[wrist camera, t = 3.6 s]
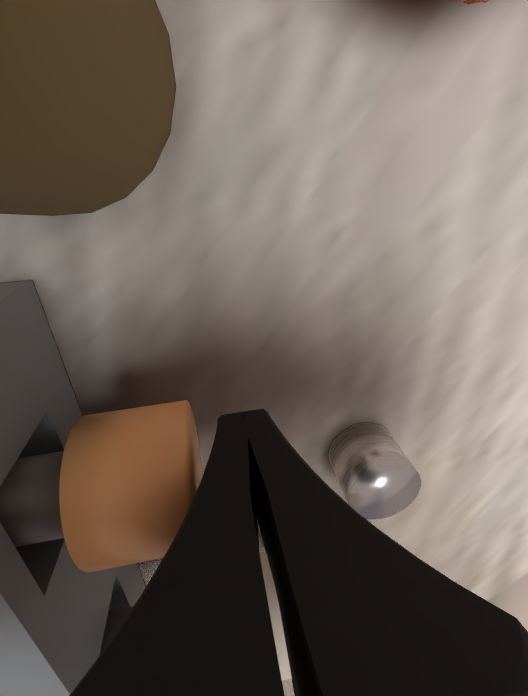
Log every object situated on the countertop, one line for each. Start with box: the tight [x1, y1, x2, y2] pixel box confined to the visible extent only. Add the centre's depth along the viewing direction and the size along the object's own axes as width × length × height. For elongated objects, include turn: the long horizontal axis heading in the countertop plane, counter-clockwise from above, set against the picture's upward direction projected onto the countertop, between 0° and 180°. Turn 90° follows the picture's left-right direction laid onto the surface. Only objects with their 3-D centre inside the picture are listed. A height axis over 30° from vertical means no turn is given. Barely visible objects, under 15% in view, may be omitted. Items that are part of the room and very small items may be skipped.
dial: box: [328, 423, 421, 519], centre depth 13 cm, size 3×3×2 cm
